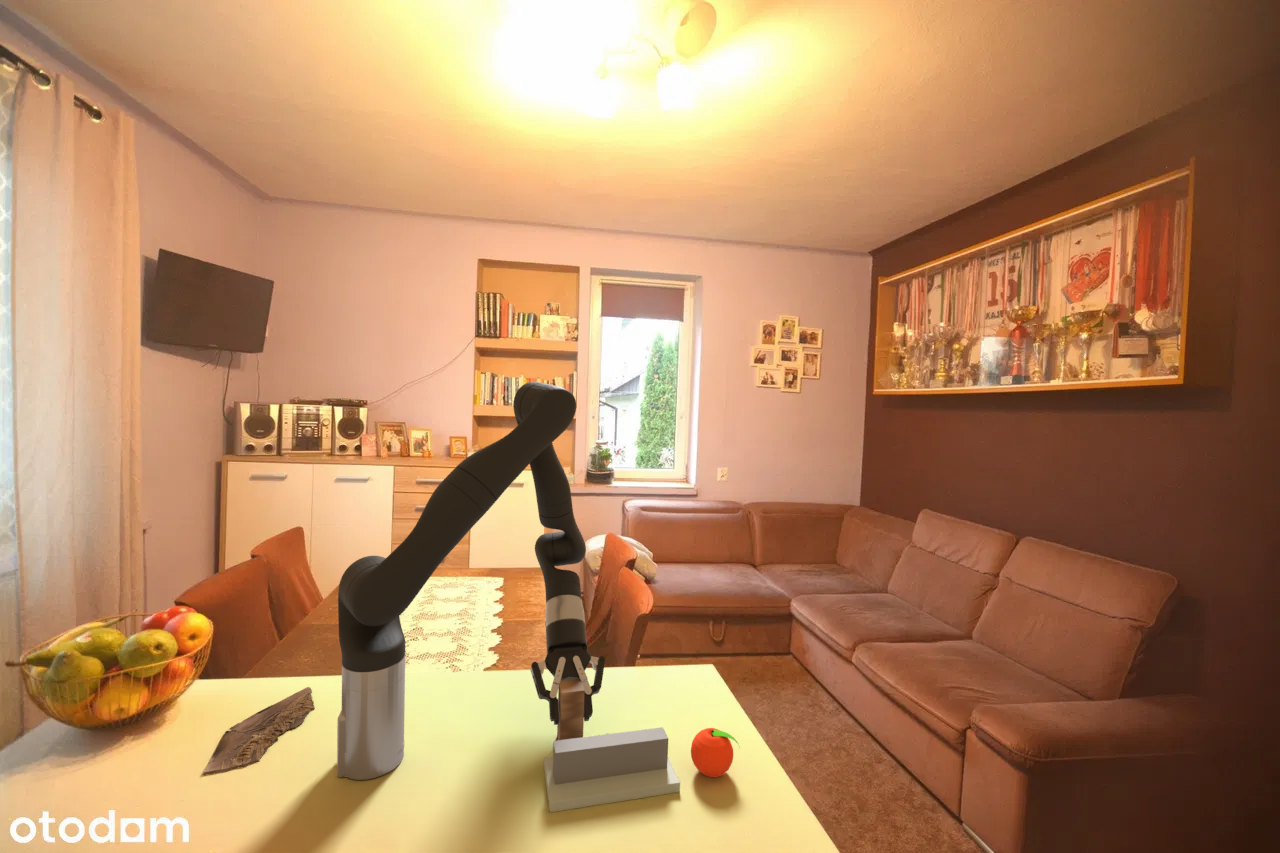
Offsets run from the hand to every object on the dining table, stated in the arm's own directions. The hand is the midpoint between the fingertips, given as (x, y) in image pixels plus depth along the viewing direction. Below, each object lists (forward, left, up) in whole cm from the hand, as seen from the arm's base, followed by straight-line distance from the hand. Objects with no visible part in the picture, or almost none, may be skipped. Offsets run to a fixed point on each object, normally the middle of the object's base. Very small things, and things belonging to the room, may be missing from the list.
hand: (572, 721), depth 94 cm
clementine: (+22, -11, -5) cm, 25 cm away
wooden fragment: (-52, +17, -5) cm, 55 cm away
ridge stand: (+5, -9, -5) cm, 11 cm away
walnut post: (0, +2, -5) cm, 5 cm away
